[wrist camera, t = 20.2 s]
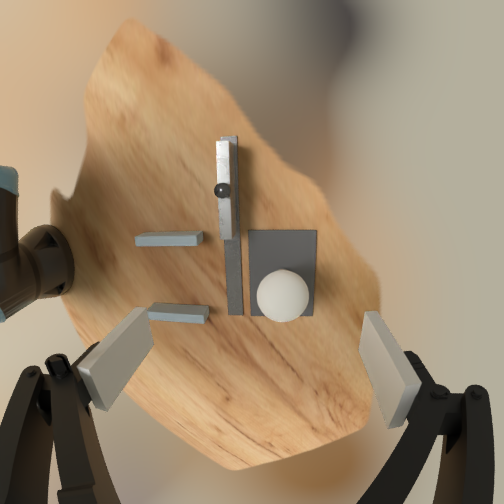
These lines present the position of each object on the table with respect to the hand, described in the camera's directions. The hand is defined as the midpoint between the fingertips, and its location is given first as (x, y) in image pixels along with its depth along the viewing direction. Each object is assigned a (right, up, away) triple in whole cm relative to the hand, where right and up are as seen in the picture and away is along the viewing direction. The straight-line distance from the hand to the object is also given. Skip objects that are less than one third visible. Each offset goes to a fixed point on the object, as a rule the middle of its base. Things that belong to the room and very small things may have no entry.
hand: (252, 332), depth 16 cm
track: (-3, +8, +26) cm, 27 cm away
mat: (+5, +1, +27) cm, 27 cm away
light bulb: (+4, +1, +27) cm, 27 cm away
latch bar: (-3, +14, +24) cm, 28 cm away
